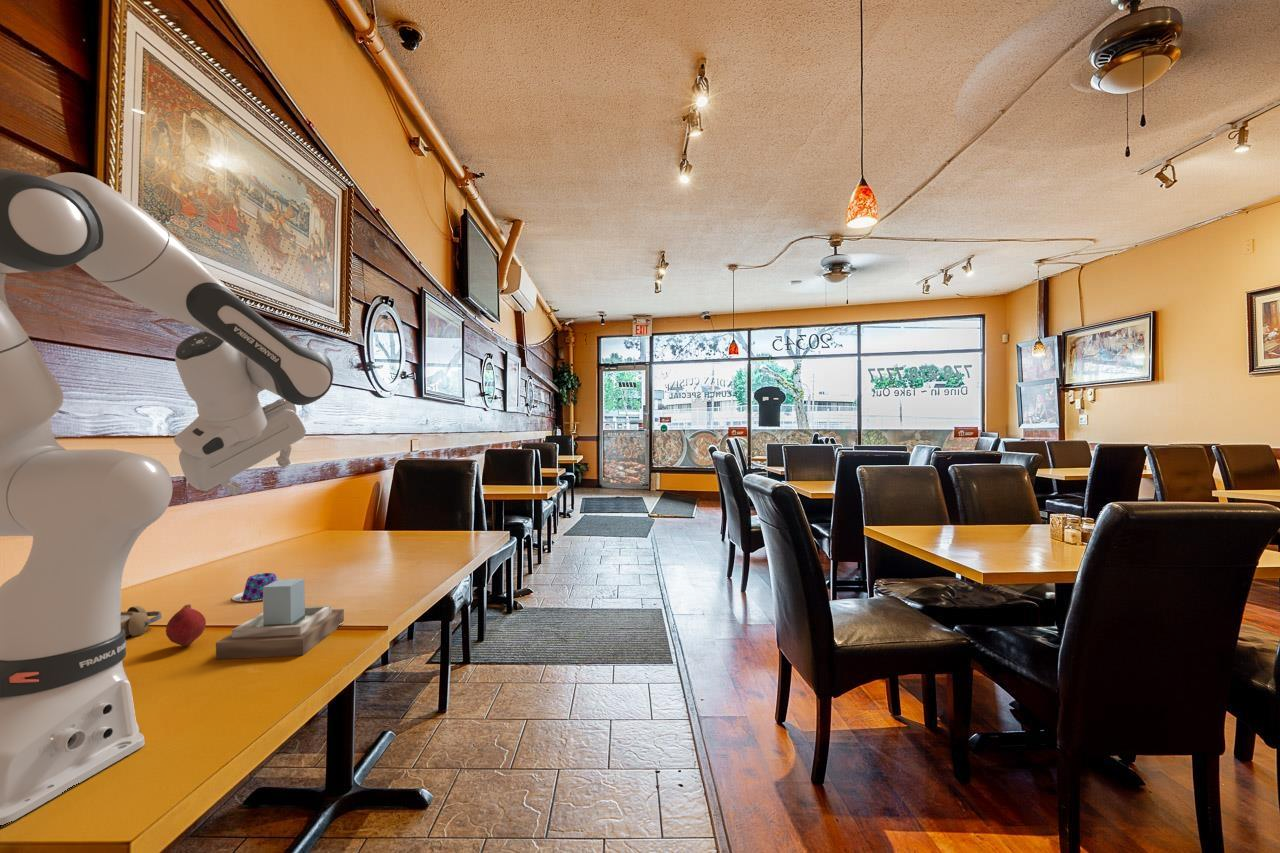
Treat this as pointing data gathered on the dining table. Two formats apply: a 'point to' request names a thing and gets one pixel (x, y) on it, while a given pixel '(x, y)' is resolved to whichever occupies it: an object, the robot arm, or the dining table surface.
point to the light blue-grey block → (284, 602)
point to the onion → (185, 626)
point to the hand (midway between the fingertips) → (261, 478)
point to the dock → (280, 635)
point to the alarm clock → (137, 620)
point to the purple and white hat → (255, 587)
